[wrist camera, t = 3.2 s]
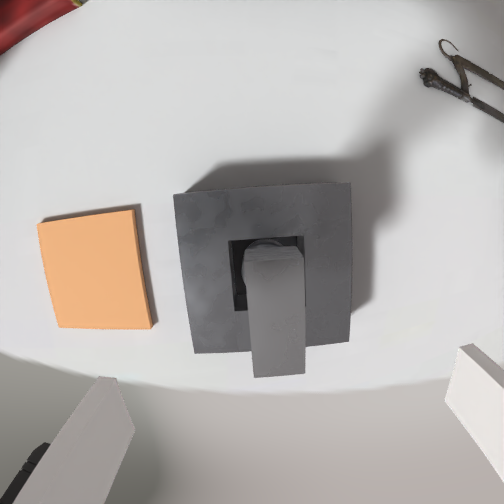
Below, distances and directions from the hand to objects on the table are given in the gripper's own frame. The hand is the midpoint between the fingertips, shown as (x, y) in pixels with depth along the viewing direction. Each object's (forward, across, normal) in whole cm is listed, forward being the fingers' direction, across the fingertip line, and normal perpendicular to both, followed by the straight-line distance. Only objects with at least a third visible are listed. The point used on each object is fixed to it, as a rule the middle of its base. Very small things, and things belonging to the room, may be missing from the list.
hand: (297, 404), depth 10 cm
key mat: (+19, -18, 0) cm, 27 cm away
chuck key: (+20, 0, 0) cm, 20 cm away
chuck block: (+20, 0, 0) cm, 20 cm away
